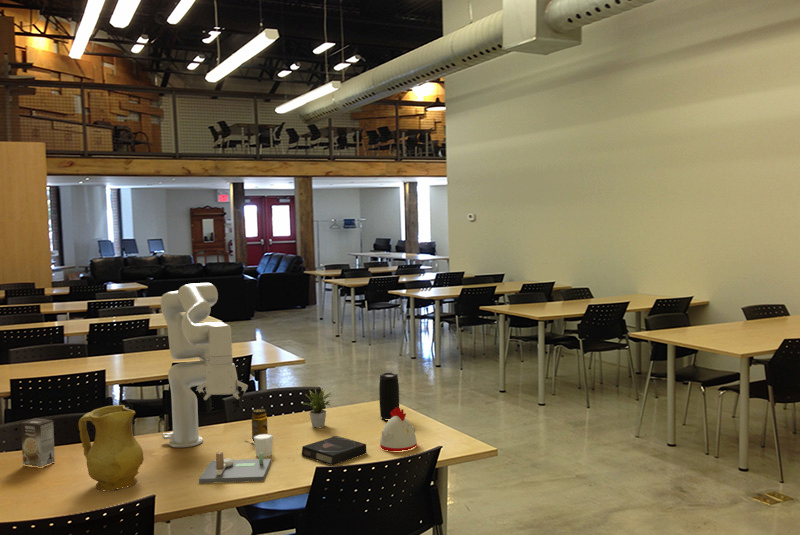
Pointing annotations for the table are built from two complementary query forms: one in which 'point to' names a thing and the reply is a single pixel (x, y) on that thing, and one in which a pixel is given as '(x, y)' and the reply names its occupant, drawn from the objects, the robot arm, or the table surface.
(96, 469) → the pitcher
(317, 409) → the house plant
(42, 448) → the coffee box
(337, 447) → the flat black box
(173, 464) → the table surface
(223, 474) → the board
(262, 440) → the white cup
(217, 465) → the light piece
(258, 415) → the condiment
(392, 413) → the kitchen timer
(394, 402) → the portable speaker
